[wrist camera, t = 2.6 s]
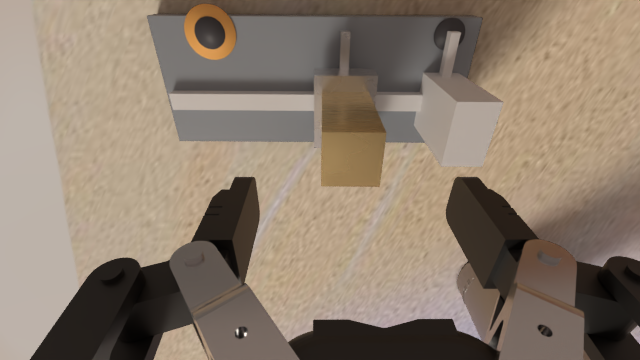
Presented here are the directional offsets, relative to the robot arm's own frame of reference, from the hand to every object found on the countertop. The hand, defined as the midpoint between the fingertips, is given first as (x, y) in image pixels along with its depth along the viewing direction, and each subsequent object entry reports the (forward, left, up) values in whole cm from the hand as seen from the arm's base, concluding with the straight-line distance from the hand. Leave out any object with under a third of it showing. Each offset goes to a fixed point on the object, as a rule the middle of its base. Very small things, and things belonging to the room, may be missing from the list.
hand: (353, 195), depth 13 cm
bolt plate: (+2, -1, -14) cm, 14 cm away
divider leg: (0, -1, -12) cm, 12 cm away
